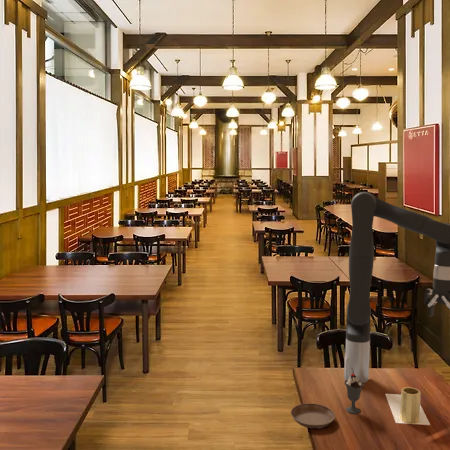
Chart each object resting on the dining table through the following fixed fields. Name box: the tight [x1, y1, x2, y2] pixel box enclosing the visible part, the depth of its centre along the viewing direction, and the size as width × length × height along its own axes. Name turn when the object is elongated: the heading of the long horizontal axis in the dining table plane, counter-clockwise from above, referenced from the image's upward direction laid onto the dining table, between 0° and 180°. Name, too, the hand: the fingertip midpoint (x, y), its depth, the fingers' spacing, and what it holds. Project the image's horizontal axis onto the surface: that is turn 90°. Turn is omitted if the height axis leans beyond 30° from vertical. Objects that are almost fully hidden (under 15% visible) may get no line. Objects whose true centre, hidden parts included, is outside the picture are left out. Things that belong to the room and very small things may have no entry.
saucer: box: [290, 402, 336, 429], centre depth 181 cm, size 15×15×3 cm
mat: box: [385, 393, 431, 426], centre depth 187 cm, size 11×22×1 cm, turn 173°
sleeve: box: [400, 386, 421, 425], centre depth 179 cm, size 6×6×10 cm
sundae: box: [343, 369, 365, 415], centre depth 187 cm, size 7×7×15 cm
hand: (441, 319), depth 200 cm, fingers open, 8 cm apart
